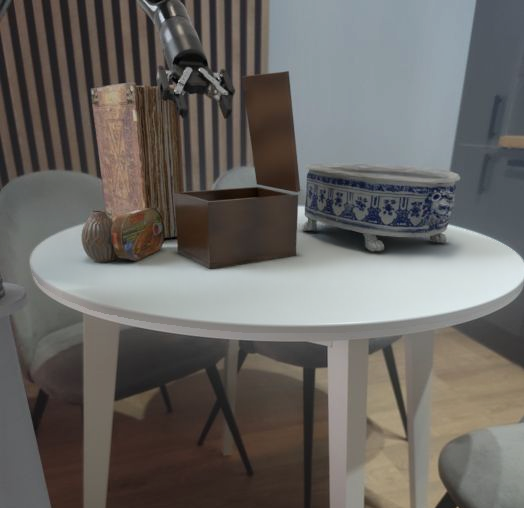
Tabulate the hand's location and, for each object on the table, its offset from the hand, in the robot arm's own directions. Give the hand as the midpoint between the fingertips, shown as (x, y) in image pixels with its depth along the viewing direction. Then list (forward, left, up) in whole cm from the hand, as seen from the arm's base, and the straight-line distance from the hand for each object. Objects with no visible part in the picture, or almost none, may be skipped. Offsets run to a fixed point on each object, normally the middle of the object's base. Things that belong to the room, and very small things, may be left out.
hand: (207, 115), depth 92 cm
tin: (-15, -1, -25) cm, 29 cm away
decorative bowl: (+36, -7, -25) cm, 44 cm away
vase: (-22, -1, -25) cm, 33 cm away
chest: (+2, -8, -25) cm, 26 cm away
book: (-8, +21, -25) cm, 34 cm away
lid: (+9, -7, -3) cm, 12 cm away
